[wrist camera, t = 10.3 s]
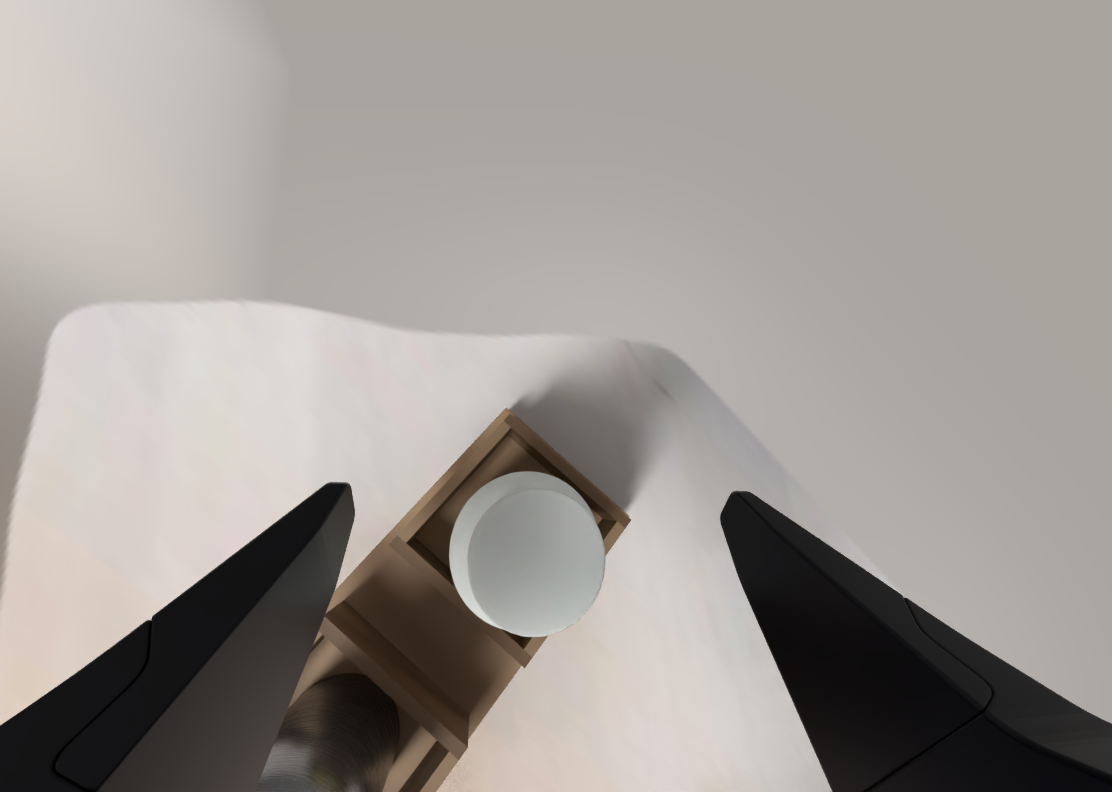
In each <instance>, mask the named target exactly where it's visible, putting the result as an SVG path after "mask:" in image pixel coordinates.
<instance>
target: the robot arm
mask: <svg viewBox="0 0 1112 792" xmlns="http://www.w3.org/2000/svg"><path fill="white" fill-rule="evenodd" d="M354 516H355V508H354V502H353V496H352V490H351V486H350V484H349V483H346V482H330V483H327V484H325V485H324V486H323V487H321V488H320V489H319V490H317V491H316V492H315V493H313V494H312V495H311V496H310V497H308V498H307V499H306V500H304V501H303V502H302V503H300V504H299V505H298V506H296V507H295V508H294V509H292V510H291V511H290V512H289V513H287V514H286V515H285V516H283V517H282V518H281V519H279V520H278V521H277V522H275V523H274V524H273V525H271V526H270V527H269V528H268V529H266V530H265V531H264V532H262V533H261V534H260V535H258V536H257V537H256V538H254V539H253V540H252V541H250V542H249V543H248V544H247V545H245V546H244V547H243V548H241V549H240V550H239V551H237V552H236V553H235V554H233V555H232V556H231V557H229V558H228V559H227V560H226V561H224V562H223V563H222V564H220V565H219V566H218V567H216V568H215V569H214V570H212V571H211V572H210V573H208V574H207V575H206V576H205V577H203V578H202V579H201V580H199V581H198V582H197V583H195V584H194V585H193V586H191V587H190V588H189V589H187V590H186V591H185V592H184V593H182V594H181V595H180V596H178V597H177V598H176V599H174V600H173V601H172V602H170V603H169V604H168V605H166V606H165V607H164V608H163V609H161V610H160V611H159V612H157V613H156V614H155V615H153V617H152V620H147V621H145V622H144V623H143V624H141V625H140V626H139V627H137V628H136V629H135V630H133V631H132V632H131V633H129V634H128V635H127V636H126V637H124V638H123V639H122V640H120V641H119V642H118V643H116V644H115V645H114V646H112V647H111V648H109V649H108V650H107V651H105V652H104V653H103V654H101V655H100V656H99V657H97V658H96V659H95V660H93V661H92V662H90V663H89V664H88V665H86V666H85V667H84V668H82V669H81V670H80V671H78V672H77V673H76V674H74V675H73V676H71V677H70V678H68V679H67V680H65V681H64V682H63V683H61V684H60V685H58V686H57V687H55V688H54V689H53V690H51V691H50V692H48V693H47V694H45V695H44V696H43V697H41V698H40V699H38V700H37V701H35V702H34V703H32V704H31V705H30V706H28V707H27V708H25V709H24V710H22V711H21V712H19V713H18V714H17V715H15V716H14V717H12V718H11V719H9V720H8V721H6V722H5V723H3V724H2V725H0V792H255V790H256V787H257V785H258V782H259V780H260V777H261V775H262V772H263V770H264V767H265V765H266V762H267V760H268V757H269V755H270V752H271V750H272V747H273V745H274V742H275V740H276V737H277V735H278V732H279V730H280V727H281V724H282V722H283V719H284V717H285V714H286V712H287V709H288V707H289V704H290V702H291V699H292V697H293V694H294V692H295V689H296V687H297V684H298V682H299V679H300V677H301V674H302V672H303V669H304V667H305V664H306V662H307V659H308V657H309V654H310V652H311V649H312V646H313V644H314V641H315V639H316V636H317V634H318V631H319V629H320V626H321V624H322V621H323V619H324V616H325V614H326V611H327V609H328V606H329V604H330V601H331V598H332V596H333V593H334V590H335V587H336V584H337V580H338V577H339V573H340V570H341V566H342V562H343V558H344V555H345V551H346V547H347V544H348V540H349V536H350V533H351V529H352V525H353V522H354ZM720 521H721V526H722V529H723V532H724V535H725V538H726V541H727V544H728V547H729V550H730V553H731V556H732V559H733V562H734V565H735V568H736V571H737V574H738V577H739V579H740V582H741V584H742V587H743V589H744V592H745V594H746V596H747V599H748V601H749V603H750V605H751V608H752V610H753V612H754V614H755V617H756V619H757V621H758V624H759V626H760V628H761V630H762V633H763V635H764V637H765V639H766V642H767V644H768V646H769V649H770V651H771V653H772V655H773V658H774V660H775V662H776V664H777V667H778V669H779V671H780V674H781V676H782V678H783V680H784V683H785V685H786V687H787V689H788V692H789V694H790V696H791V699H792V701H793V703H794V705H795V708H796V710H797V712H798V714H799V717H800V719H801V721H802V724H803V726H804V728H805V730H806V733H807V735H808V737H809V739H810V742H811V744H812V746H813V749H814V751H815V753H816V755H817V758H818V760H819V762H820V764H821V767H822V769H823V771H824V774H825V776H826V778H827V780H828V783H829V785H830V787H831V789H832V792H1112V724H1111V723H1109V722H1107V721H1104V720H1102V719H1100V718H1098V717H1096V716H1095V715H1093V714H1091V713H1089V712H1087V711H1085V710H1083V709H1082V708H1080V707H1078V706H1076V705H1075V704H1073V703H1071V702H1069V701H1068V700H1066V699H1065V698H1063V697H1062V696H1060V695H1058V694H1057V693H1055V692H1053V691H1052V690H1050V689H1048V688H1047V687H1045V686H1044V685H1042V684H1041V683H1039V682H1037V681H1036V680H1034V679H1032V678H1031V677H1029V676H1027V675H1026V674H1024V673H1023V672H1021V671H1019V670H1018V669H1016V668H1015V667H1013V666H1011V665H1010V664H1008V663H1006V662H1005V661H1003V660H1002V659H1000V658H998V657H997V656H995V655H993V654H992V653H990V652H989V651H987V650H985V649H984V648H982V647H981V646H979V645H977V644H976V643H974V642H972V641H971V640H969V639H968V638H966V637H965V636H963V635H962V634H960V633H958V632H957V631H955V630H954V629H952V628H951V627H949V626H948V625H946V624H944V623H943V622H942V621H940V620H938V619H937V618H935V617H934V616H932V615H931V614H930V613H928V612H926V611H925V610H924V609H922V608H921V607H919V606H918V605H916V604H915V603H913V602H912V601H910V600H909V599H907V598H904V597H903V596H902V595H901V594H900V593H898V592H897V591H895V590H894V589H892V588H891V587H890V586H888V585H887V584H885V583H884V582H882V581H881V580H879V579H878V578H876V577H875V576H873V575H872V574H870V573H869V572H867V571H866V570H864V569H863V568H861V567H860V566H858V565H857V564H856V563H854V562H853V561H851V560H850V559H848V558H847V557H845V556H844V555H842V554H841V553H839V552H838V551H836V550H835V549H833V548H832V547H830V546H829V545H827V544H826V543H825V542H823V541H822V540H820V539H819V538H817V537H816V536H814V535H813V534H811V533H810V532H808V531H807V530H805V529H804V528H802V527H801V526H799V525H798V524H796V523H795V522H793V521H792V520H791V519H789V518H788V517H786V516H785V515H783V514H782V513H780V512H779V511H777V510H776V509H774V508H773V507H771V506H770V505H768V504H767V503H765V502H764V501H762V500H761V499H760V498H758V497H757V496H755V495H754V494H752V493H750V492H747V491H734V492H732V493H731V494H730V496H729V498H728V500H727V502H726V504H725V506H724V508H723V510H722V512H721V516H720Z"/></svg>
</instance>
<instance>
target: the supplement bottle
mask: <svg viewBox="0 0 1112 792" xmlns="http://www.w3.org/2000/svg"><path fill="white" fill-rule="evenodd" d="M449 562H450V570H451V574H452V578H453V582H454V584H455V587H456V589H457V591H458V593H459V595H460V597H461V598H462V600H463V601H464V603H465V604H466V605H467V606H468V608H469V609H470V610H471V611H472V612H473V613H474V614H475V615H477V616H478V617H479V618H481V619H482V620H483V621H485V622H487V623H489V624H490V625H492V626H495V627H497V628H500V629H503V630H506V631H508V632H510V633H513V634H516V635H520V636H525V637H543V636H548V635H552V634H555V633H558V632H560V631H562V630H565V629H567V628H568V627H570V626H571V625H573V624H574V623H575V622H577V621H578V620H579V619H580V618H581V617H582V616H583V615H584V614H585V613H586V612H587V611H588V609H589V608H590V607H591V605H592V604H593V602H594V600H595V599H596V597H597V595H598V592H599V590H600V588H601V584H602V581H603V578H604V570H605V548H604V543H603V539H602V535H601V533H600V530H599V528H598V526H597V524H596V521H595V518H594V516H593V514H592V512H591V510H590V508H589V506H588V505H587V503H586V502H585V500H584V499H583V498H582V497H581V495H580V494H579V493H578V492H577V491H576V490H575V489H573V488H572V487H571V486H570V485H568V484H567V483H566V482H564V481H562V480H560V479H559V478H556V477H554V476H551V475H548V474H545V473H540V472H531V471H525V472H514V473H510V474H506V475H503V476H500V477H498V478H496V479H494V480H492V481H490V482H489V483H487V484H485V485H484V486H483V487H481V488H480V489H479V490H478V491H477V492H476V493H475V494H474V495H473V496H472V497H471V498H470V499H469V500H468V501H467V502H466V504H465V505H464V507H463V508H462V510H461V512H460V514H459V516H458V518H457V520H456V522H455V525H454V528H453V531H452V535H451V540H450V549H449Z"/></svg>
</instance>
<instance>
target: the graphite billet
mask: <svg viewBox="0 0 1112 792" xmlns="http://www.w3.org/2000/svg"><path fill="white" fill-rule="evenodd" d="M399 735H400V720H399V714H398V709H397V706H396V704H395V701H394V700H393V699H392V698H391V697H390V696H389V695H387V694H386V693H385V692H384V691H383V690H382V689H381V688H380V687H379V686H378V685H377V684H375V683H374V682H373V681H372V680H371V679H370V678H369V677H368V676H366V675H363V674H358V673H343V674H337V675H333V676H330V677H328V678H325V679H323V680H321V681H319V682H317V683H315V684H314V685H312V686H311V687H310V688H308V689H307V690H306V691H305V692H304V693H302V694H301V695H300V696H299V697H298V699H297V700H296V701H295V702H294V703H293V704H292V705H291V706H290V707H289V708H288V709H287V712H286V714H285V717H284V719H283V722H282V724H281V727H280V730H279V732H278V735H277V737H276V740H275V742H274V745H273V747H272V750H271V752H270V755H269V757H268V760H267V762H266V765H265V767H264V770H263V772H262V775H261V777H260V780H259V782H258V785H257V787H256V790H255V792H382V791H383V788H384V786H385V783H386V780H387V777H388V774H389V771H390V768H391V765H392V762H393V759H394V756H395V753H396V750H397V746H398V742H399Z"/></svg>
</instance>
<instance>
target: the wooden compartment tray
mask: <svg viewBox="0 0 1112 792" xmlns="http://www.w3.org/2000/svg"><path fill="white" fill-rule="evenodd" d="M525 471H531V472H540V473H545V474H548V475H551V476H554V477H556V478H559V479H560V480H562V481H564V482H566V483H567V484H568V485H570V486H571V487H572V488H573V489H575V490H576V491H577V492H578V493H579V494H580V495H581V497H582V498H583V499H584V500H585V502H586V503H587V505H588V506H589V508H590V510H591V512H592V514H593V516H594V518H595V521H596V524H597V526H598V528H599V530H600V533H601V535H602V539H603V543H604V548H605V556H606V554H607V553H608V552H609V550H610V549H611V547H612V546H613V545H614V543H615V542H616V540H617V539H618V538H619V536H620V535H621V533H622V532H623V531H624V529H625V528H626V526H627V525H628V524H629V522H630V521H631V519H630V518H629V516H628V515H627V514H626V513H625V512H624V511H623V510H622V509H621V508H619V507H618V506H617V505H616V504H615V503H614V502H613V501H611V500H610V499H609V498H608V497H607V496H606V495H605V494H604V493H602V492H601V491H600V490H599V489H598V488H597V487H596V486H594V485H593V484H592V483H591V482H590V481H589V480H588V479H587V478H585V477H584V476H583V475H582V474H581V473H580V472H579V471H577V470H576V469H575V468H574V467H573V466H572V465H571V464H570V463H568V462H567V461H566V460H565V459H564V458H563V457H562V456H560V455H559V454H558V453H557V452H556V451H555V450H554V449H553V448H551V447H550V446H549V445H548V444H547V443H546V442H545V441H543V440H542V439H541V438H540V437H539V436H538V435H537V434H536V433H534V432H533V431H532V430H531V429H530V428H529V427H528V426H526V425H525V424H524V423H523V422H522V421H521V420H520V419H519V418H517V417H516V416H515V415H514V414H513V413H512V412H511V411H509V410H508V409H507V408H505V409H504V410H503V412H502V413H501V414H500V415H499V416H498V417H497V418H496V419H495V420H494V421H493V422H492V423H491V424H490V425H489V427H488V428H487V429H486V430H485V431H484V432H483V433H482V434H481V435H480V436H479V437H478V438H477V439H476V440H475V442H474V443H473V444H472V445H471V446H470V447H469V448H468V449H467V450H466V451H465V452H464V453H463V454H462V455H461V456H460V458H459V459H458V460H457V461H456V462H455V463H454V464H453V465H452V466H451V467H450V468H449V469H448V470H447V471H446V473H445V474H444V475H443V476H442V477H441V478H440V479H439V480H438V481H437V482H436V483H435V484H434V485H433V486H432V487H431V489H430V490H429V491H428V492H427V493H426V494H425V495H424V496H423V497H422V498H421V499H420V500H419V501H418V502H417V504H416V505H415V506H414V507H413V508H412V509H411V510H410V511H409V512H408V513H407V514H406V515H405V516H404V517H403V519H402V520H401V521H400V522H399V523H398V524H397V525H396V526H395V527H394V528H393V529H392V530H391V531H390V532H389V533H388V535H387V536H386V537H385V538H384V539H383V540H382V541H381V542H380V543H379V544H378V545H377V546H376V547H375V548H374V550H373V551H372V552H371V553H370V554H369V555H368V556H367V557H366V558H365V559H364V560H363V561H362V562H361V563H360V565H359V566H358V567H357V568H356V569H355V570H354V571H353V572H352V573H351V574H350V575H349V576H348V577H347V578H346V579H345V581H344V582H343V583H342V584H341V585H340V586H339V587H338V588H337V589H336V590H335V591H334V593H333V596H332V598H331V601H330V604H329V606H328V609H327V611H326V614H325V616H324V619H323V621H322V624H321V626H320V629H319V631H318V634H317V636H316V639H315V641H314V644H313V646H312V649H311V652H310V654H309V657H308V659H307V662H306V664H305V667H304V669H303V672H302V674H301V677H300V679H299V682H298V684H297V687H296V689H295V692H294V694H293V697H292V699H291V702H290V704H289V707H290V706H291V705H292V704H293V703H294V702H295V701H296V700H297V699H298V697H299V696H300V695H301V694H302V693H304V692H305V691H306V690H307V689H308V688H310V687H311V686H312V685H314V684H315V683H317V682H319V681H321V680H323V679H325V678H328V677H330V676H333V675H337V674H343V673H358V674H363V675H366V676H368V677H369V678H370V679H371V680H372V681H373V682H374V683H375V684H377V685H378V686H379V687H380V688H381V689H382V690H383V691H384V692H385V693H386V694H387V695H389V696H390V697H391V698H392V699H393V700H394V701H395V704H396V706H397V709H398V714H399V720H400V735H399V742H398V746H397V750H396V753H395V756H394V759H393V762H392V765H391V768H390V771H389V774H388V777H387V780H386V783H385V786H384V788H383V791H382V792H436V791H437V790H438V788H439V787H440V785H441V784H442V783H443V781H444V780H445V779H446V777H447V776H448V774H449V773H450V772H451V770H452V769H453V767H454V766H455V765H456V763H457V762H458V760H459V759H460V758H461V756H462V755H463V753H464V752H465V751H466V749H467V748H468V739H469V737H470V736H471V735H472V733H473V732H474V731H475V729H476V728H477V726H478V725H479V724H480V722H481V721H482V719H483V718H484V717H485V715H486V714H487V713H488V711H489V710H490V708H491V707H492V706H493V704H494V703H495V701H496V700H497V699H498V697H499V696H500V695H501V693H502V692H503V690H504V689H505V688H506V686H507V685H508V683H509V682H510V681H511V679H512V678H513V677H514V675H515V674H516V672H517V671H518V670H519V668H520V667H521V665H522V666H523V667H524V668H525V667H526V666H527V664H528V663H529V662H530V660H531V659H532V657H533V656H534V655H535V653H536V652H537V650H538V649H539V648H540V646H541V645H542V643H543V642H544V641H545V639H546V638H547V636H543V637H525V636H520V635H516V634H513V633H510V632H508V631H506V630H503V629H500V628H497V627H495V626H492V625H490V624H489V623H487V622H485V621H483V620H482V619H481V618H479V617H478V616H477V615H475V614H474V613H473V612H472V611H471V610H470V609H469V608H468V606H467V605H466V604H465V603H464V601H463V600H462V598H461V597H460V595H459V593H458V591H457V589H456V587H455V584H454V582H453V578H452V574H451V570H450V562H449V549H450V540H451V535H452V531H453V528H454V525H455V522H456V520H457V518H458V516H459V514H460V512H461V510H462V508H463V507H464V505H465V504H466V502H467V501H468V500H469V499H470V498H471V497H472V496H473V495H474V494H475V493H476V492H477V491H478V490H479V489H480V488H481V487H483V486H484V485H485V484H487V483H489V482H490V481H492V480H494V479H496V478H498V477H500V476H503V475H506V474H510V473H514V472H525ZM289 707H288V708H289Z"/></svg>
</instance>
